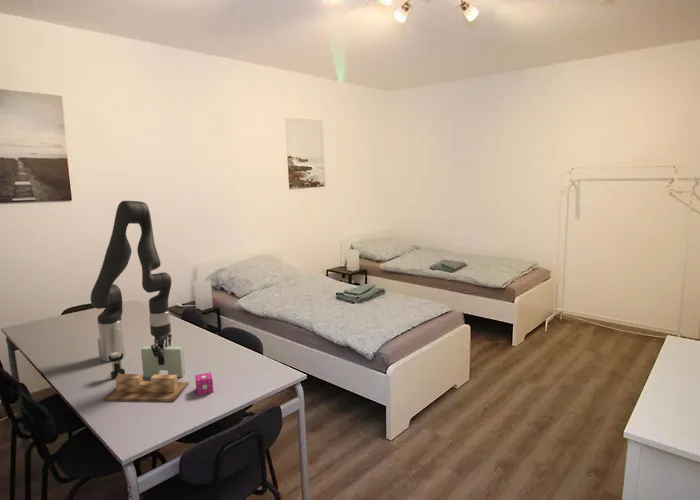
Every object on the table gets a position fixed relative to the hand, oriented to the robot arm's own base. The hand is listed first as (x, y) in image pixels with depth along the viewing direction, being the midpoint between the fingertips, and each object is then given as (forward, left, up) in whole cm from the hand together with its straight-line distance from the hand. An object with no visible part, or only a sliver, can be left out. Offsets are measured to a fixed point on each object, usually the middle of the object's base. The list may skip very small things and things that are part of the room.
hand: (163, 362), depth 178 cm
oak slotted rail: (0, -14, -6) cm, 15 cm away
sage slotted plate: (0, 0, -6) cm, 6 cm away
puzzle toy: (+21, -12, -6) cm, 25 cm away
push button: (-19, -2, -6) cm, 20 cm away
